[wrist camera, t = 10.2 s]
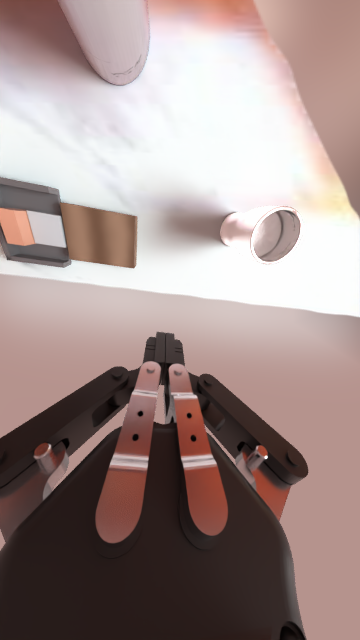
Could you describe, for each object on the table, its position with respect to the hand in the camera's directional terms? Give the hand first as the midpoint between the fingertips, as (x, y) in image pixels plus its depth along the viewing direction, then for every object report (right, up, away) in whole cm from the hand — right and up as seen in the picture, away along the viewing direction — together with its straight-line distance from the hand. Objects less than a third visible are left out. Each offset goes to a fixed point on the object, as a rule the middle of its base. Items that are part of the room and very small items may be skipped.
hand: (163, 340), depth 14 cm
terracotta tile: (-24, +18, +14) cm, 33 cm away
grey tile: (-22, +19, +16) cm, 33 cm away
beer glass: (+13, +20, +19) cm, 31 cm away
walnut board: (-13, +18, +18) cm, 29 cm away
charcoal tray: (-25, +19, +17) cm, 36 cm away
